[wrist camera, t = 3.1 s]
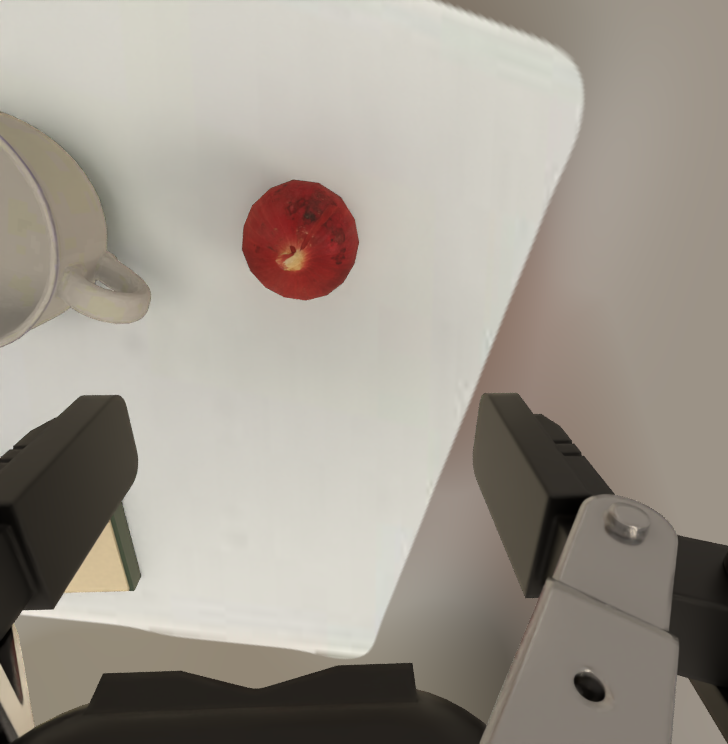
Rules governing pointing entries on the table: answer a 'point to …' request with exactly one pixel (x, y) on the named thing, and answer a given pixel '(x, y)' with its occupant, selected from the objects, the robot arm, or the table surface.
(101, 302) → the teacup
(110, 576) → the notebook
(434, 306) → the table surface
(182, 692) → the robot arm
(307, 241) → the pomegranate
